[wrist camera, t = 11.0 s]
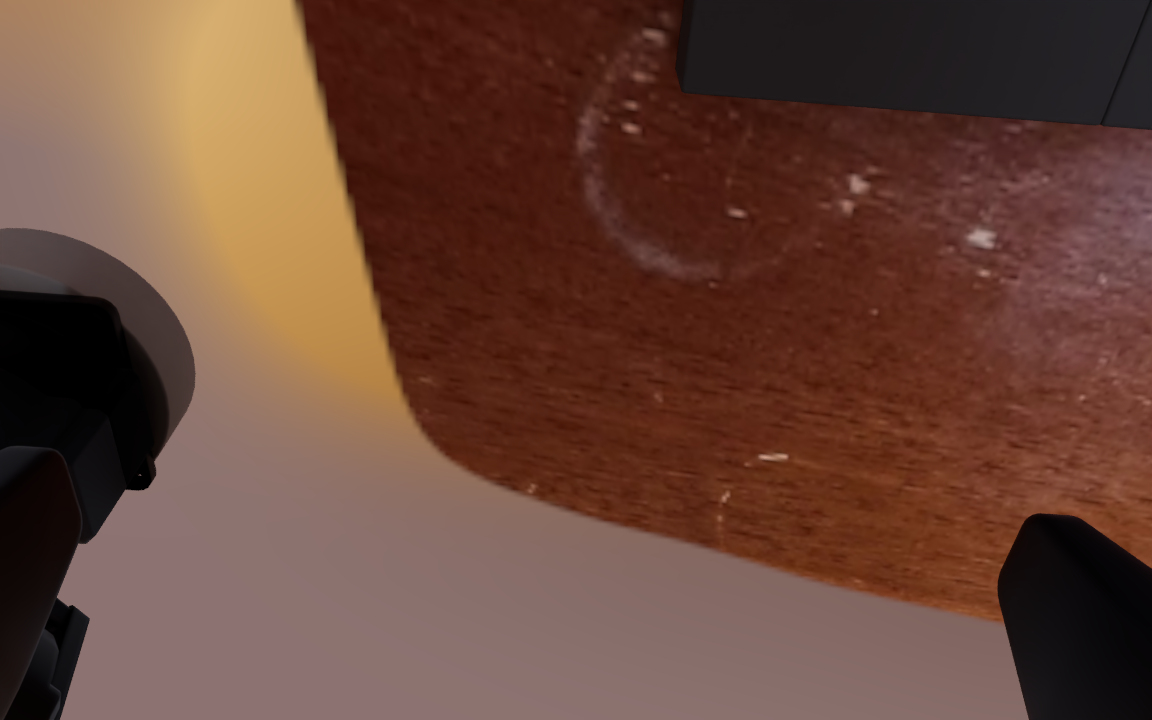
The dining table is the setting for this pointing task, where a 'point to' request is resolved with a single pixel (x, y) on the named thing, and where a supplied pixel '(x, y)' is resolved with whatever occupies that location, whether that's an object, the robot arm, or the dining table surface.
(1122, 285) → the dining table surface
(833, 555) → the dining table surface
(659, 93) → the dining table surface
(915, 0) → the big pad
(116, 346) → the robot arm
